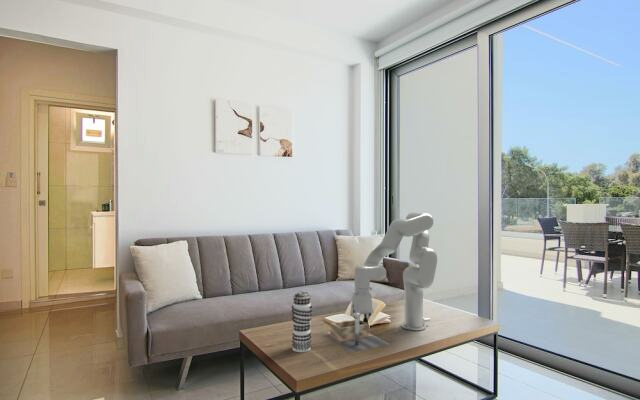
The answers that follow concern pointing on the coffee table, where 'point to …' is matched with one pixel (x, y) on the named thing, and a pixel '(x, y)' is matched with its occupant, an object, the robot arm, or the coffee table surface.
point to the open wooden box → (348, 329)
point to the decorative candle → (301, 322)
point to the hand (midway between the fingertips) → (361, 327)
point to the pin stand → (358, 339)
